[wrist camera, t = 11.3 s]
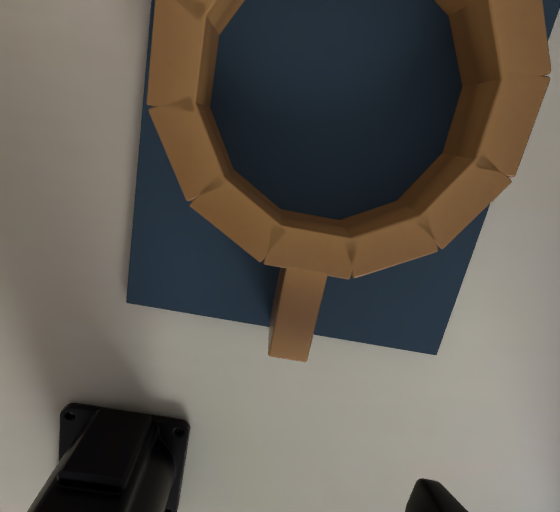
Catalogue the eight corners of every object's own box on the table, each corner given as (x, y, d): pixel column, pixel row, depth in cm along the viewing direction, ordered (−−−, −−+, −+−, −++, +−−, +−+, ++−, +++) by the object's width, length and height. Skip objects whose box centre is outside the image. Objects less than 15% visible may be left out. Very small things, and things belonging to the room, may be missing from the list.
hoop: (416, 346, 19) (440, 384, 17) (149, 301, 19) (126, 333, 16) (549, -56, 14) (617, -100, 12) (194, -141, 14) (172, -212, 11)
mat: (432, 350, 20) (436, 355, 20) (129, 298, 19) (125, 303, 19) (606, -146, 14) (618, -155, 14) (177, -258, 13) (173, -273, 13)
